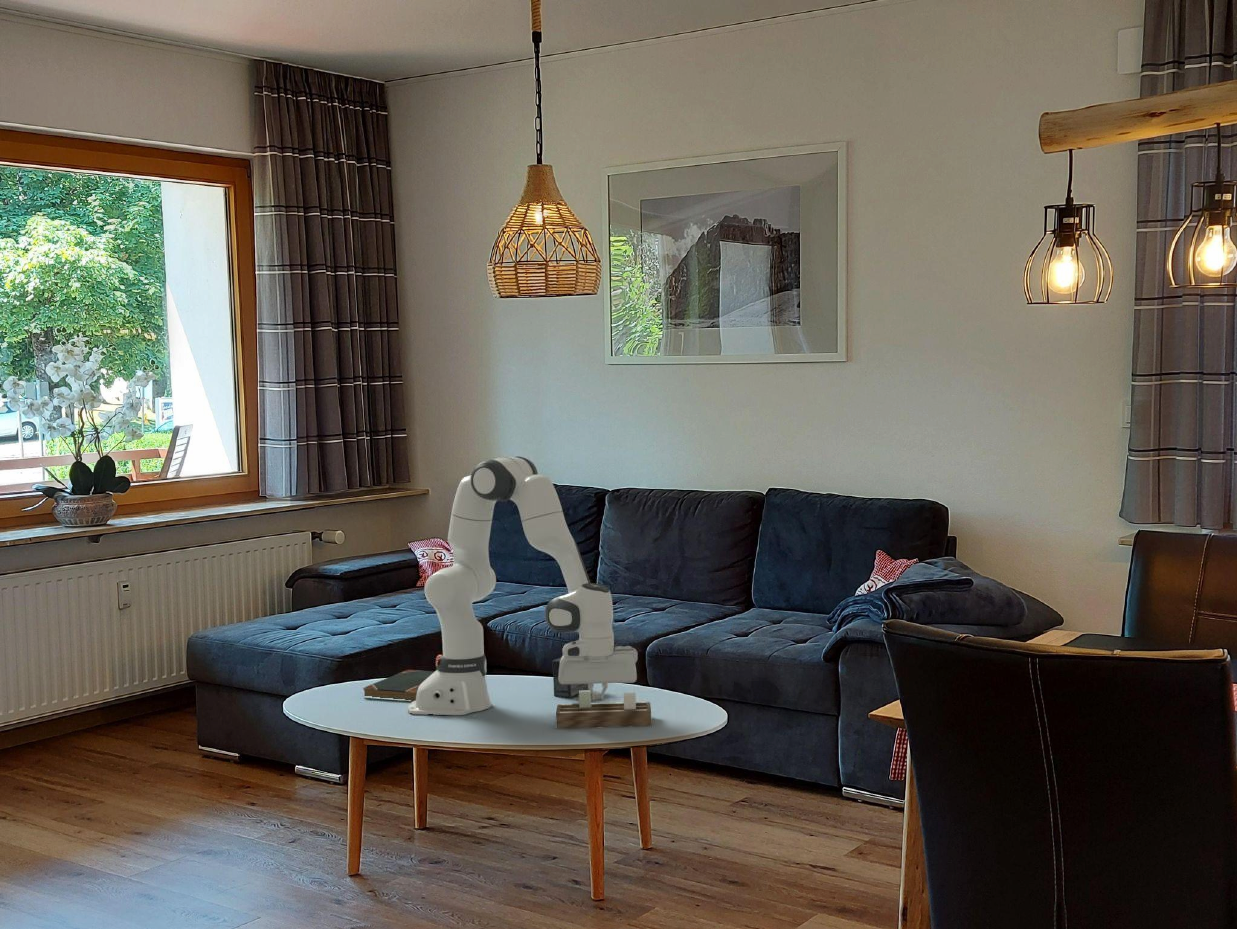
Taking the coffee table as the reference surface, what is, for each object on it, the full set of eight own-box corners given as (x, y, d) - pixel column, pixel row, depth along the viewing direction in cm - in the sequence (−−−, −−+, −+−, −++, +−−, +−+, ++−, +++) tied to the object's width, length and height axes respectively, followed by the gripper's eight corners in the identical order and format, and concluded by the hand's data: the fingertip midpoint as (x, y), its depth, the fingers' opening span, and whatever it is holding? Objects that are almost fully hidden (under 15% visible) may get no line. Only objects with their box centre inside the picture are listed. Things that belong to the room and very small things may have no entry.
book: (407, 681, 382) (362, 700, 358) (407, 669, 381) (361, 687, 358) (459, 684, 375) (415, 704, 352) (458, 672, 375) (415, 691, 352)
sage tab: (579, 714, 324) (579, 692, 324) (579, 712, 327) (579, 690, 326) (591, 713, 324) (590, 692, 324) (591, 711, 327) (590, 690, 326)
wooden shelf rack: (556, 728, 319) (555, 712, 319) (558, 719, 328) (557, 703, 328) (651, 726, 319) (650, 709, 319) (650, 717, 328) (650, 701, 328)
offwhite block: (624, 716, 320) (623, 695, 320) (624, 714, 323) (623, 692, 322) (636, 716, 320) (635, 694, 320) (635, 714, 323) (635, 692, 322)
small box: (575, 688, 363) (574, 652, 362) (593, 691, 359) (592, 654, 358) (552, 696, 354) (551, 659, 354) (570, 699, 350) (569, 661, 350)
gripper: (637, 643, 328) (638, 696, 329) (558, 645, 328) (559, 698, 329) (637, 648, 322) (638, 702, 323) (557, 650, 322) (558, 704, 322)
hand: (598, 700), depth 326 cm, fingers closed
